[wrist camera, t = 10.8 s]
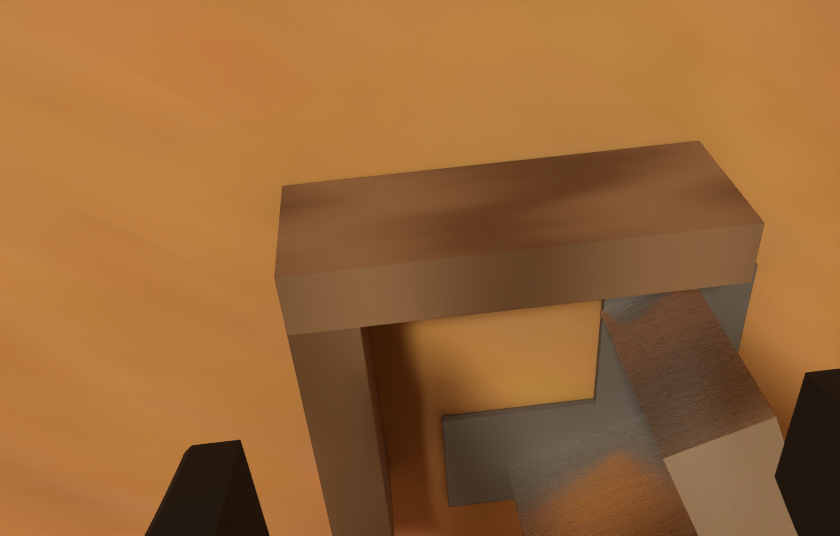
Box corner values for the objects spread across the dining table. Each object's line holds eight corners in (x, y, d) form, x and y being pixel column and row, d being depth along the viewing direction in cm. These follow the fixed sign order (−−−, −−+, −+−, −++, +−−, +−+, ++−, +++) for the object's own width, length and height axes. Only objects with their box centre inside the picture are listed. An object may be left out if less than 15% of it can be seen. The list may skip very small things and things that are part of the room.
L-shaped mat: (754, 260, 21) (757, 264, 21) (707, 470, 26) (709, 475, 26) (432, 296, 21) (433, 301, 21) (448, 502, 26) (449, 506, 26)
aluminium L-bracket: (744, 431, 25) (824, 577, 21) (535, 508, 26) (573, 659, 22) (689, 274, 21) (776, 416, 17) (446, 374, 22) (473, 528, 18)
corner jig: (699, 140, 19) (764, 222, 16) (652, 441, 25) (693, 538, 22) (282, 186, 18) (274, 278, 16) (341, 479, 25) (343, 582, 22)
